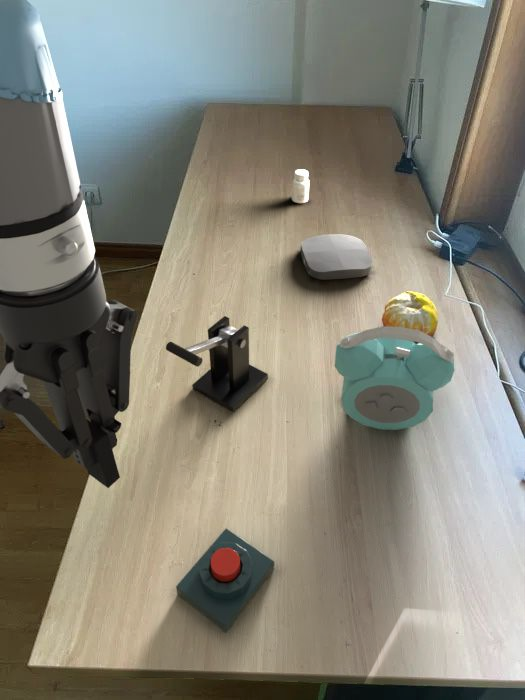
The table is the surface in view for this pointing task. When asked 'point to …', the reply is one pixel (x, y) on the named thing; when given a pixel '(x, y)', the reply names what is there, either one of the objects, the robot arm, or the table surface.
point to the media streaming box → (335, 256)
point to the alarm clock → (391, 376)
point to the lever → (201, 346)
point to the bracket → (230, 370)
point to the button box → (225, 597)
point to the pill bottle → (300, 186)
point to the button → (225, 565)
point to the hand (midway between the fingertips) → (104, 475)
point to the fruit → (411, 313)
